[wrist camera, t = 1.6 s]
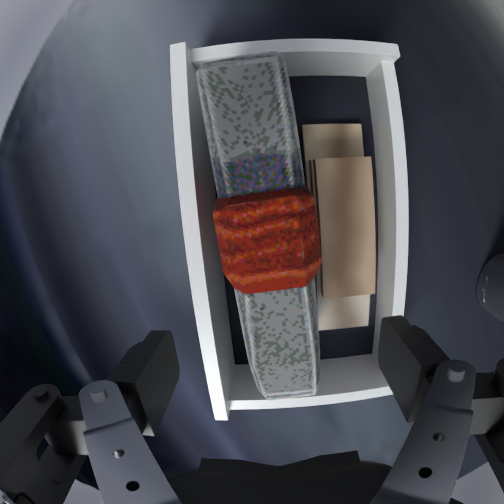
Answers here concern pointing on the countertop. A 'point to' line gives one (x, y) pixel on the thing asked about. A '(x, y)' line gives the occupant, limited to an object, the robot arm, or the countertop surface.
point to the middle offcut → (338, 309)
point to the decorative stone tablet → (264, 218)
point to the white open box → (204, 199)
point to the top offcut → (345, 225)
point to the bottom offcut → (330, 143)
